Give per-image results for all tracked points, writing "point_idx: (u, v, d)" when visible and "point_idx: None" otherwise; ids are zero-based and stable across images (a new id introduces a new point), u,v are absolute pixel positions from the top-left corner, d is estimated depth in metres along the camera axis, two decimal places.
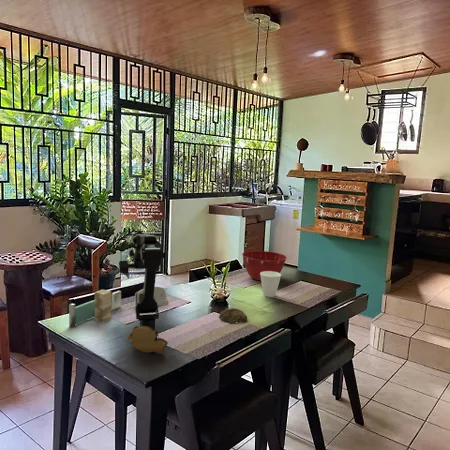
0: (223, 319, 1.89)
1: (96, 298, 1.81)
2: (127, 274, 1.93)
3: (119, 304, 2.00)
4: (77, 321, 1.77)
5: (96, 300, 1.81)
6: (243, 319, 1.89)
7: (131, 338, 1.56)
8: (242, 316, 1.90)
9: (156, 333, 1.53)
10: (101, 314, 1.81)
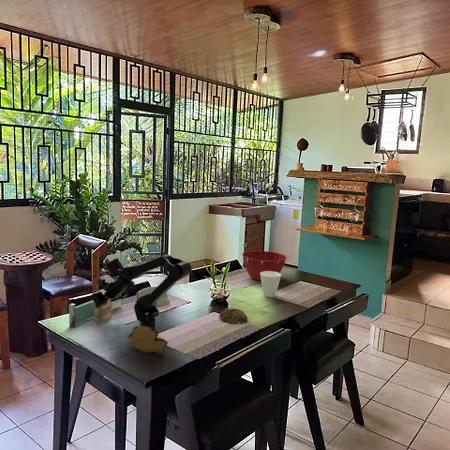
0: (223, 319, 1.88)
1: None
2: None
3: (119, 304, 2.00)
4: (77, 321, 1.77)
5: None
6: (243, 319, 1.88)
7: (131, 338, 1.56)
8: (242, 316, 1.89)
9: (156, 333, 1.53)
10: (101, 314, 1.81)
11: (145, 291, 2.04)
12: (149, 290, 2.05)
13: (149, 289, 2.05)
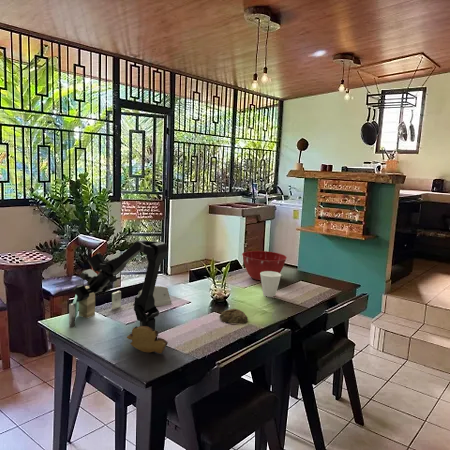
0: (223, 320, 1.88)
1: None
2: None
3: (119, 304, 2.00)
4: None
5: None
6: (243, 320, 1.88)
7: (131, 338, 1.56)
8: (242, 317, 1.89)
9: (156, 333, 1.53)
10: (85, 310, 1.85)
11: None
12: None
13: None
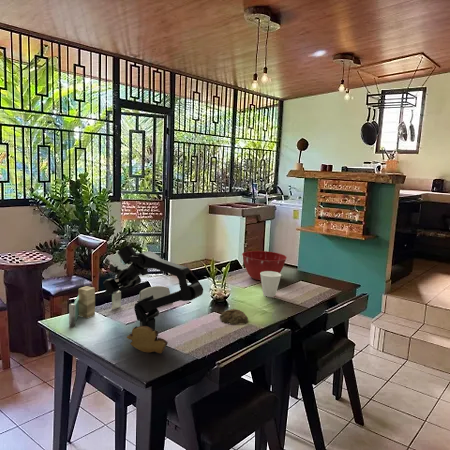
0: (223, 320, 1.87)
1: (80, 294, 1.85)
2: None
3: (119, 304, 2.00)
4: None
5: (80, 296, 1.85)
6: (244, 320, 1.88)
7: (131, 338, 1.56)
8: (243, 317, 1.88)
9: (156, 333, 1.53)
10: (85, 310, 1.85)
11: (148, 290, 2.05)
12: (152, 289, 2.06)
13: (152, 288, 2.06)
